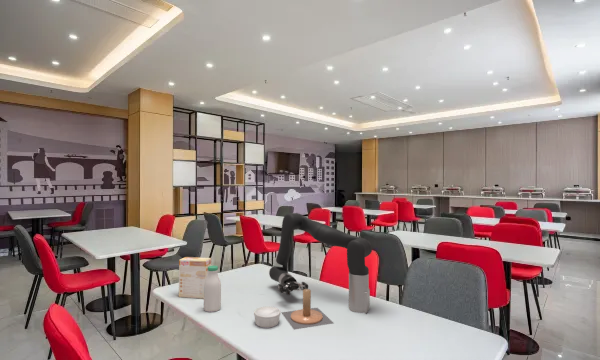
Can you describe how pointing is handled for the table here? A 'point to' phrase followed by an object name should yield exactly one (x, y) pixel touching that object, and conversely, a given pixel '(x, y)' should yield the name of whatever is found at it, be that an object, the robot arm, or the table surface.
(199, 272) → the coffeecake box
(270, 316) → the ramekin
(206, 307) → the milk bottle
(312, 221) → the robot arm
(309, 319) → the lid
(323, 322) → the mat
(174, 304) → the table surface
